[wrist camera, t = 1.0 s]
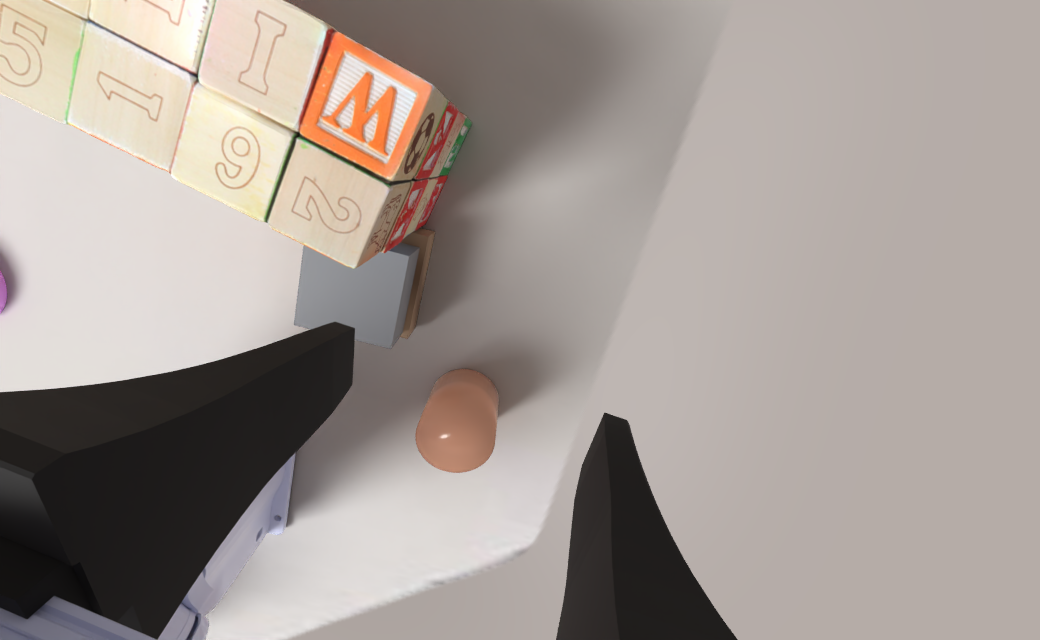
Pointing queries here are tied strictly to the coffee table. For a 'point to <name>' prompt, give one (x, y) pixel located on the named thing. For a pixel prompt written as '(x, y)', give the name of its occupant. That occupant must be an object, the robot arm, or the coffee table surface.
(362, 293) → the tower top
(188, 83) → the stack of blocks
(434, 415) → the terracotta cylinder
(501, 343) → the coffee table surface
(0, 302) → the bracket
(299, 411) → the robot arm
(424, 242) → the tower base
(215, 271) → the coffee table surface
